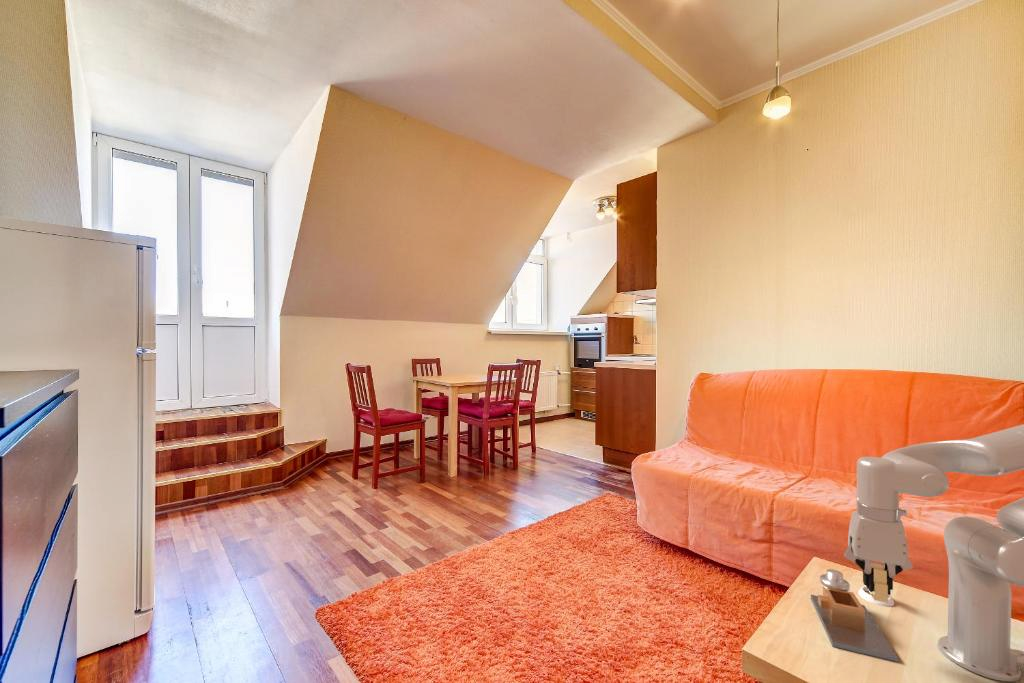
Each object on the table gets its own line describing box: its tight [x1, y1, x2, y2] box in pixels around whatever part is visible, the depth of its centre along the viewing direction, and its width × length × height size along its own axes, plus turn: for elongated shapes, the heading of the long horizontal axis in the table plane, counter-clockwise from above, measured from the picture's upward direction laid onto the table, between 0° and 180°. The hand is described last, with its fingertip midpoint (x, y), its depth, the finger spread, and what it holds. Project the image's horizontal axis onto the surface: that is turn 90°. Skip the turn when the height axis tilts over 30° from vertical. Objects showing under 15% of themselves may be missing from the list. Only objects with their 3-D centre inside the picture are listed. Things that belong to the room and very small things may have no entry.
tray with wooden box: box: [810, 568, 898, 663], centre depth 108 cm, size 12×22×9 cm, turn 157°
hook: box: [857, 585, 895, 607], centre depth 119 cm, size 8×12×7 cm
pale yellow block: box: [868, 562, 888, 603], centre depth 100 cm, size 2×4×7 cm, turn 157°
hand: (877, 589), depth 100 cm, fingers closed on pale yellow block, 2 cm apart
